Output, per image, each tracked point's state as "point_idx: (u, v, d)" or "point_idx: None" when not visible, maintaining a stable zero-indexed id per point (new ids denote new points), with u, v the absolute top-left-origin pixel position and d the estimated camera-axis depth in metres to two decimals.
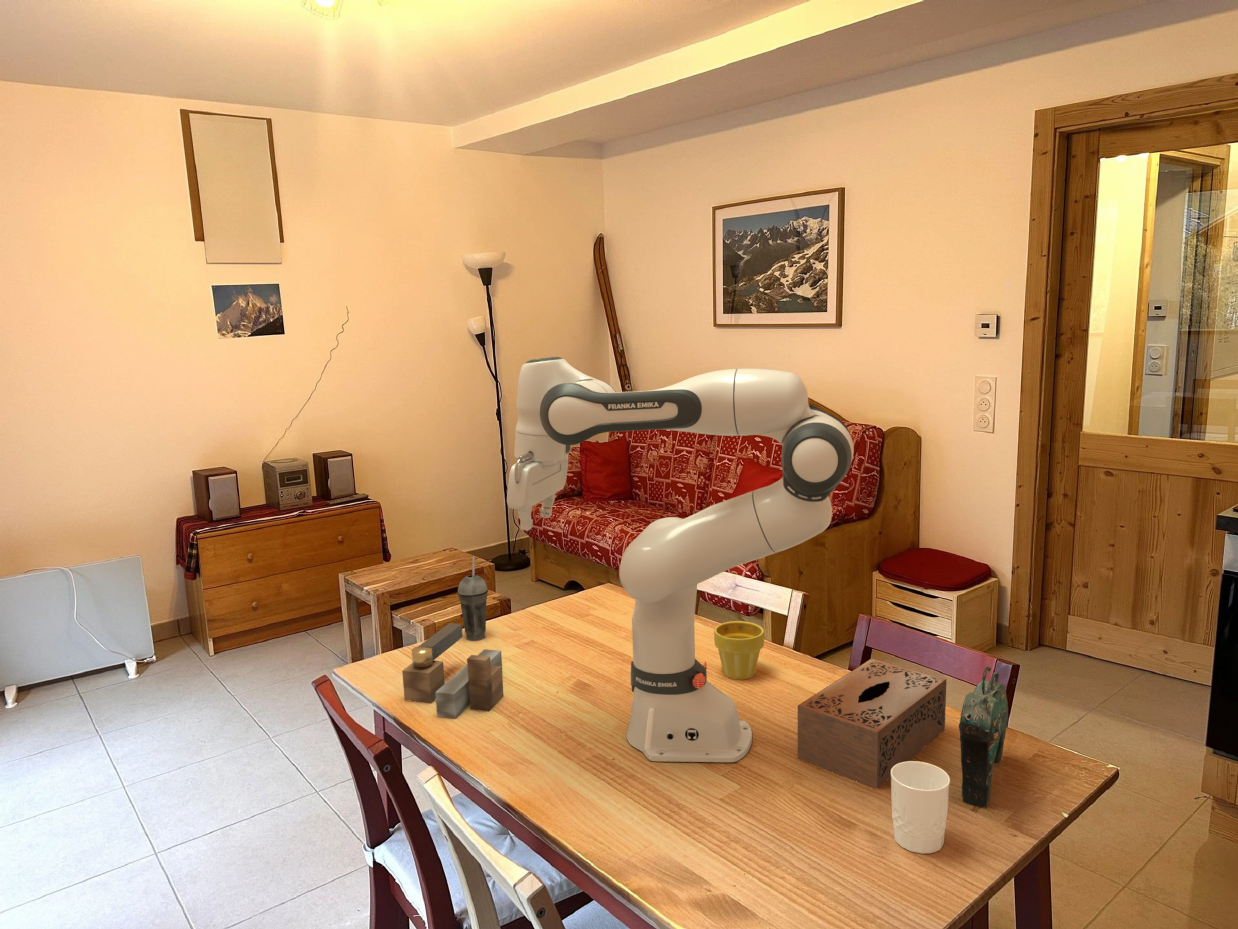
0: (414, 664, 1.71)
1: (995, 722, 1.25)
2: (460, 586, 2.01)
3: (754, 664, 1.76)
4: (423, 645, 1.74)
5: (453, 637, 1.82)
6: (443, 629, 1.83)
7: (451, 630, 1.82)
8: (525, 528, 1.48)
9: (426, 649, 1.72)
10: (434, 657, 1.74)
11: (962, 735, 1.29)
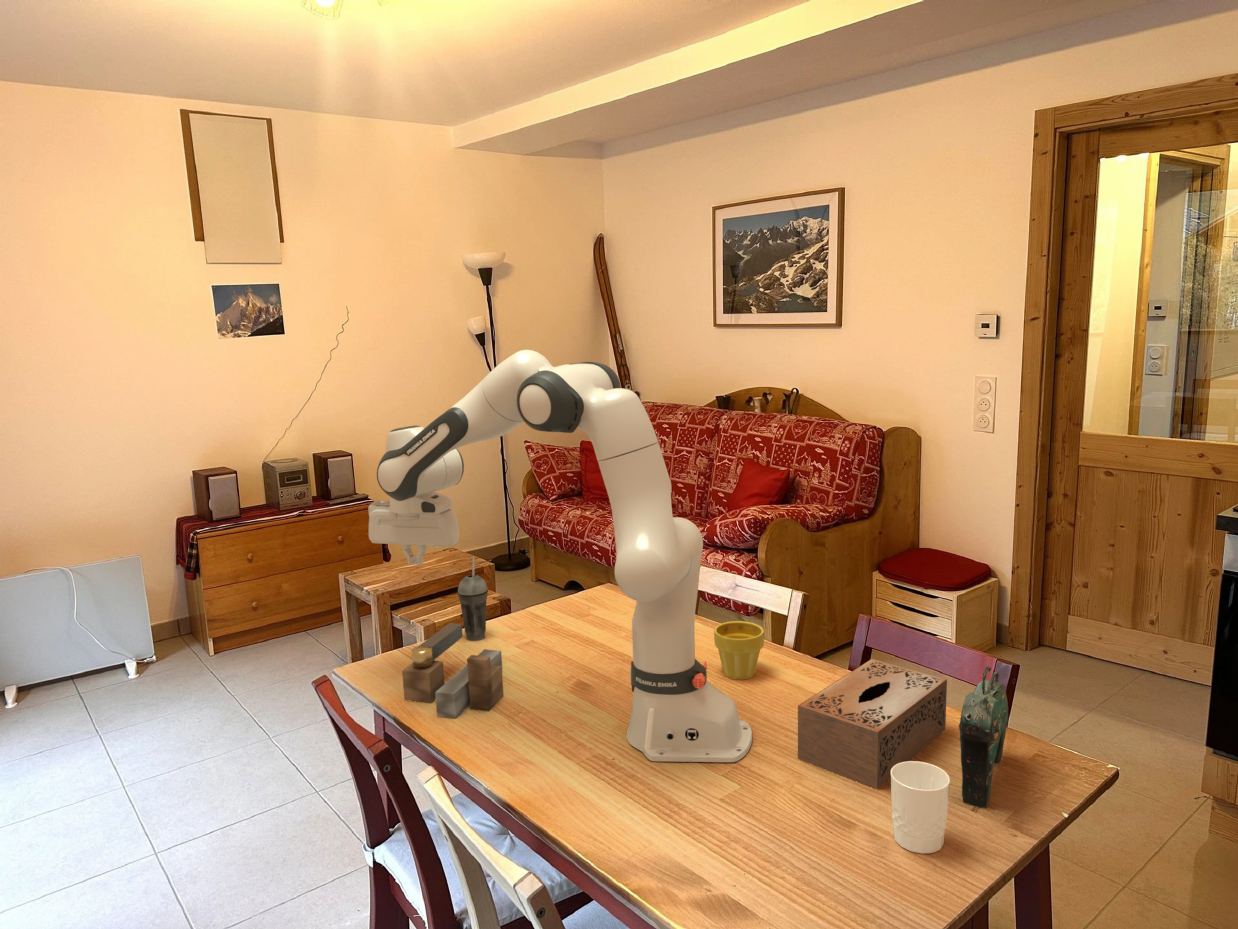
0: (414, 664, 1.71)
1: (995, 722, 1.25)
2: (460, 586, 2.01)
3: (754, 664, 1.76)
4: (423, 645, 1.74)
5: (453, 637, 1.82)
6: (443, 629, 1.83)
7: (451, 630, 1.82)
8: None
9: (426, 649, 1.72)
10: (434, 657, 1.74)
11: (962, 735, 1.29)
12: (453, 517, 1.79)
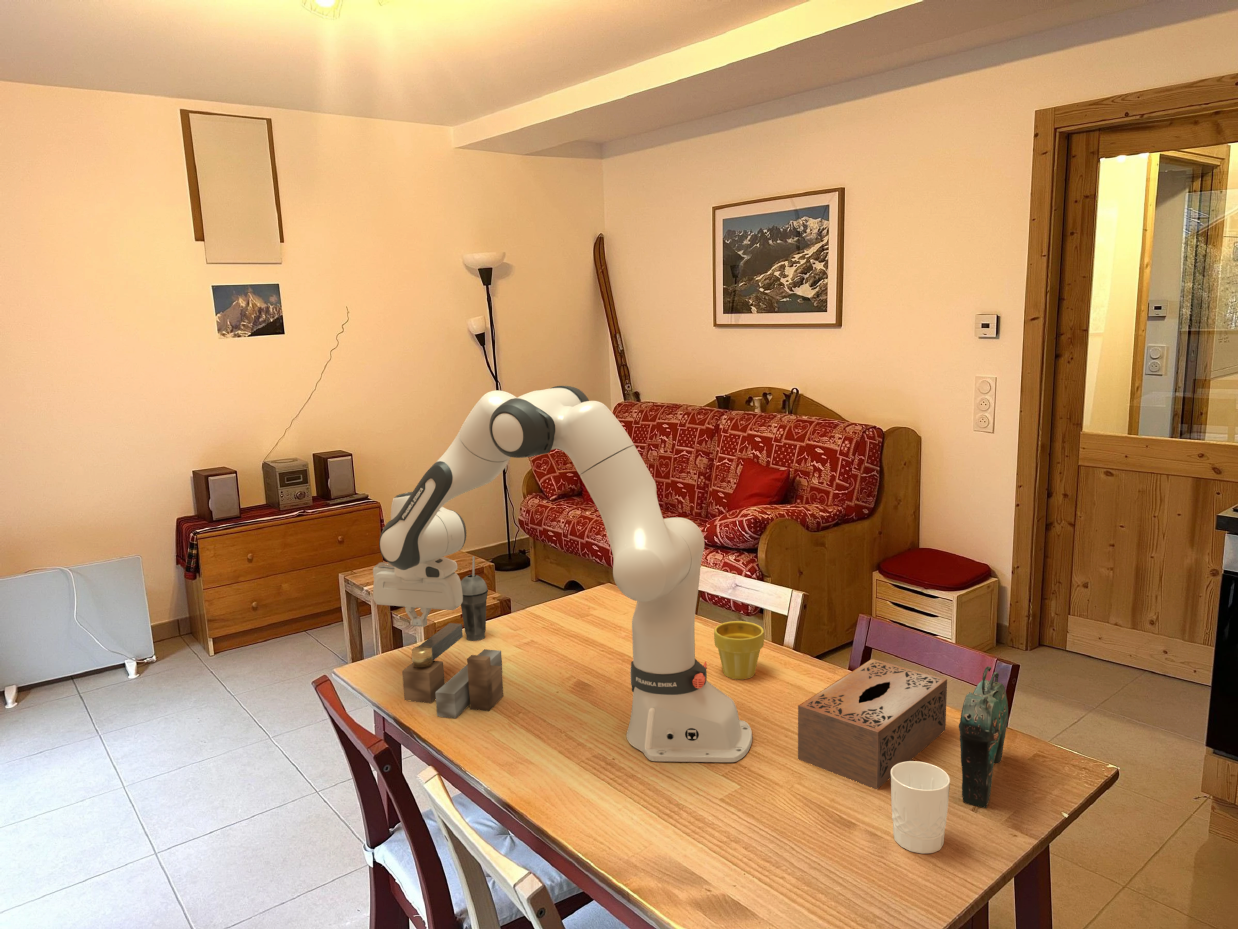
0: (414, 664, 1.71)
1: (995, 722, 1.25)
2: None
3: (754, 664, 1.76)
4: (423, 645, 1.74)
5: (453, 637, 1.82)
6: (443, 629, 1.83)
7: (451, 630, 1.82)
8: None
9: (426, 649, 1.72)
10: (434, 657, 1.74)
11: (962, 735, 1.29)
12: (457, 581, 1.82)
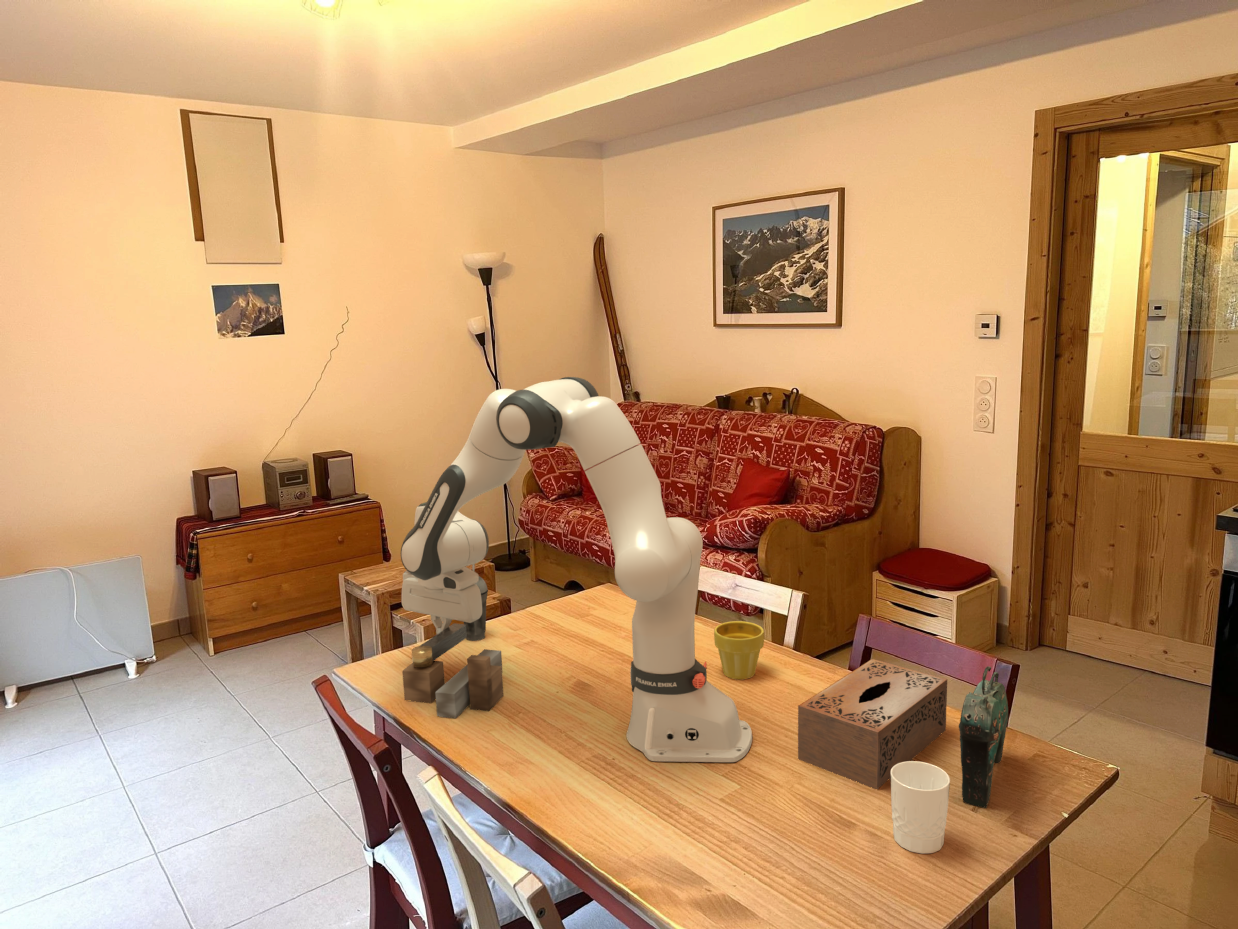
0: (414, 664, 1.71)
1: (995, 722, 1.25)
2: None
3: (754, 664, 1.76)
4: (424, 645, 1.74)
5: (456, 637, 1.82)
6: (446, 629, 1.83)
7: (454, 630, 1.82)
8: None
9: (426, 649, 1.72)
10: (434, 657, 1.74)
11: (962, 735, 1.29)
12: (476, 593, 1.78)
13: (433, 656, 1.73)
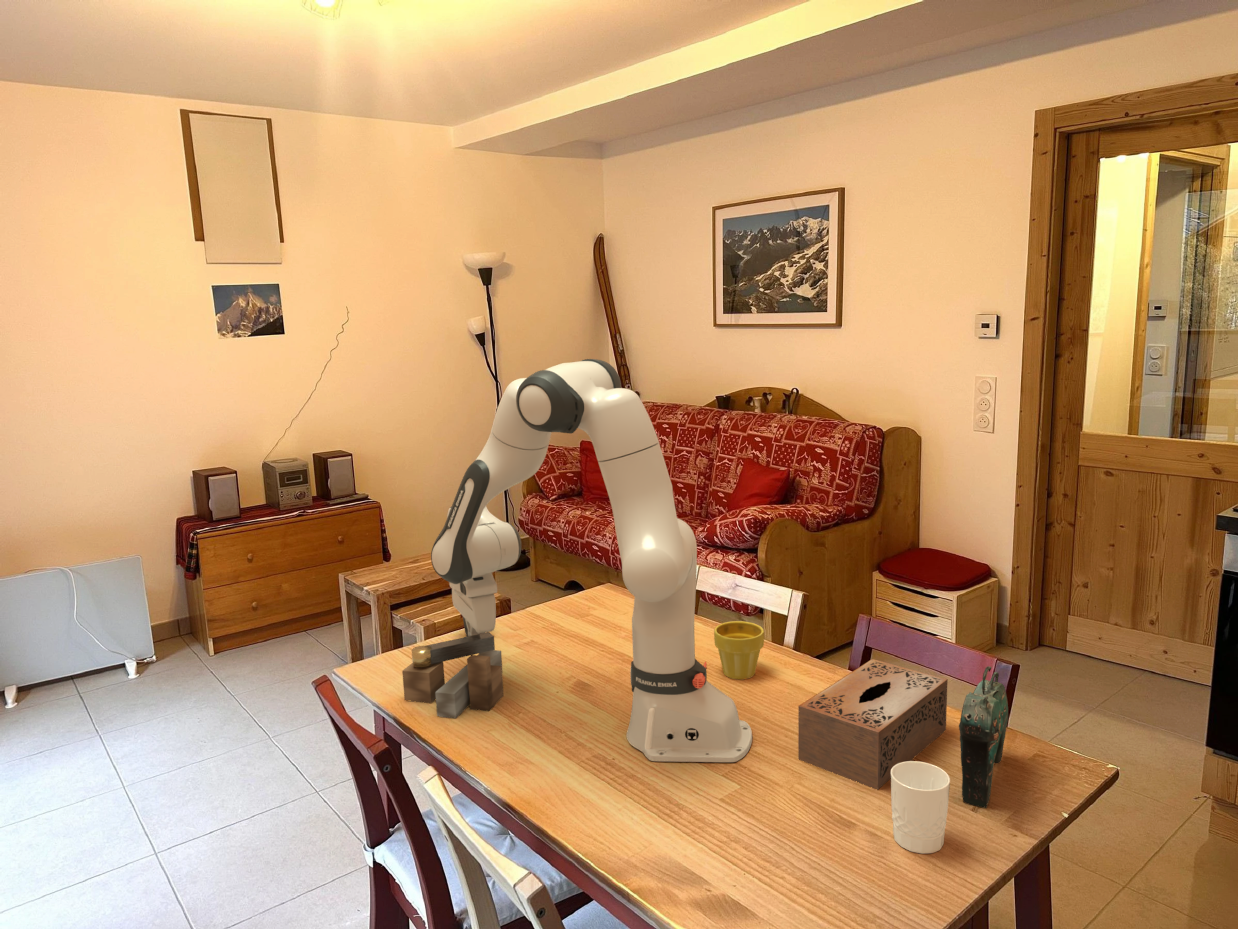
0: (412, 661, 1.72)
1: (995, 722, 1.25)
2: None
3: (754, 664, 1.76)
4: (430, 646, 1.74)
5: (474, 647, 1.76)
6: (472, 636, 1.78)
7: (474, 639, 1.76)
8: None
9: (423, 650, 1.71)
10: (435, 661, 1.72)
11: (962, 735, 1.29)
12: (488, 604, 1.70)
13: (433, 659, 1.72)
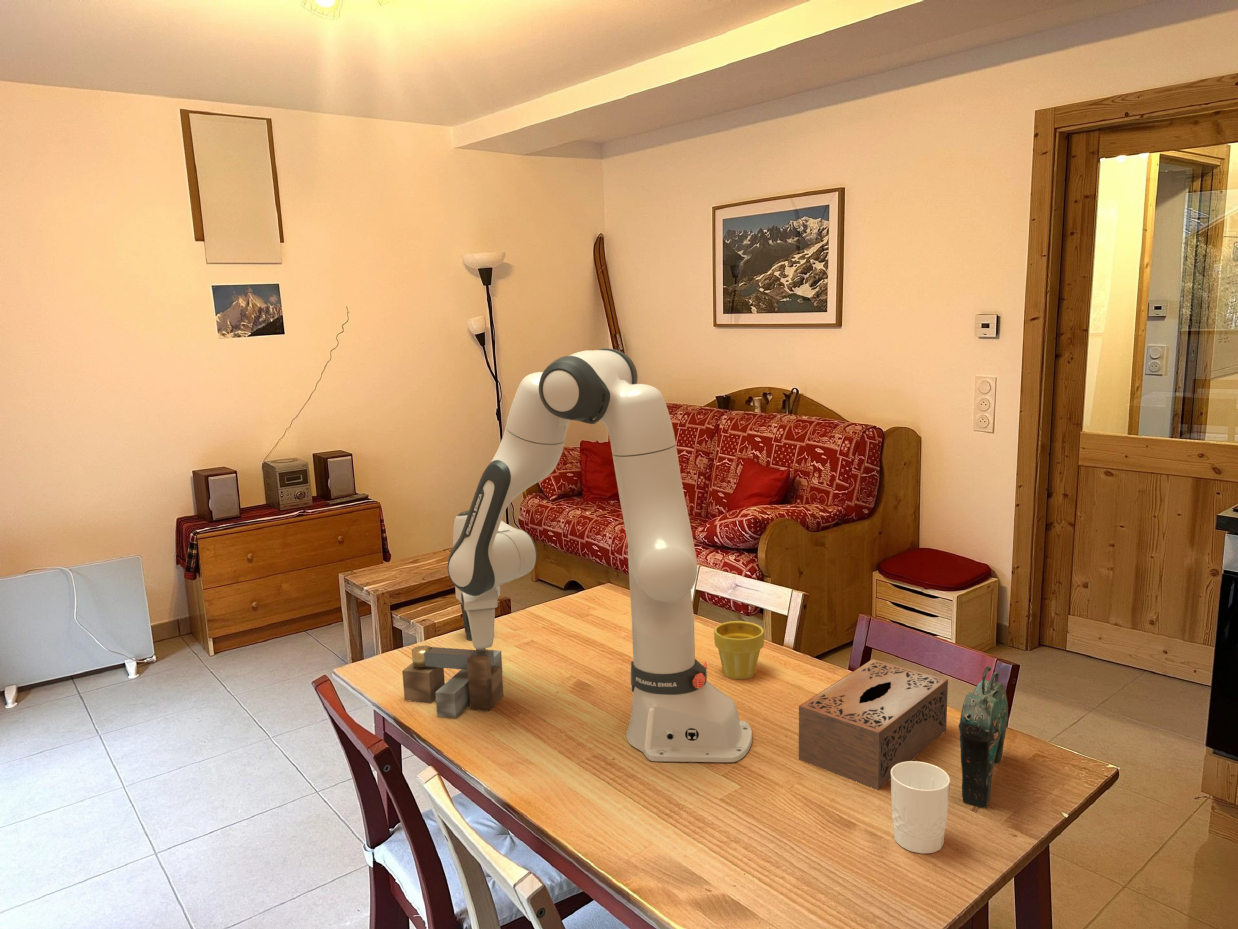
0: None
1: (995, 722, 1.25)
2: None
3: (754, 664, 1.76)
4: (432, 648, 1.72)
5: None
6: (474, 651, 1.70)
7: (469, 654, 1.68)
8: None
9: (419, 651, 1.71)
10: (429, 664, 1.70)
11: (962, 735, 1.29)
12: (485, 619, 1.61)
13: (426, 662, 1.70)
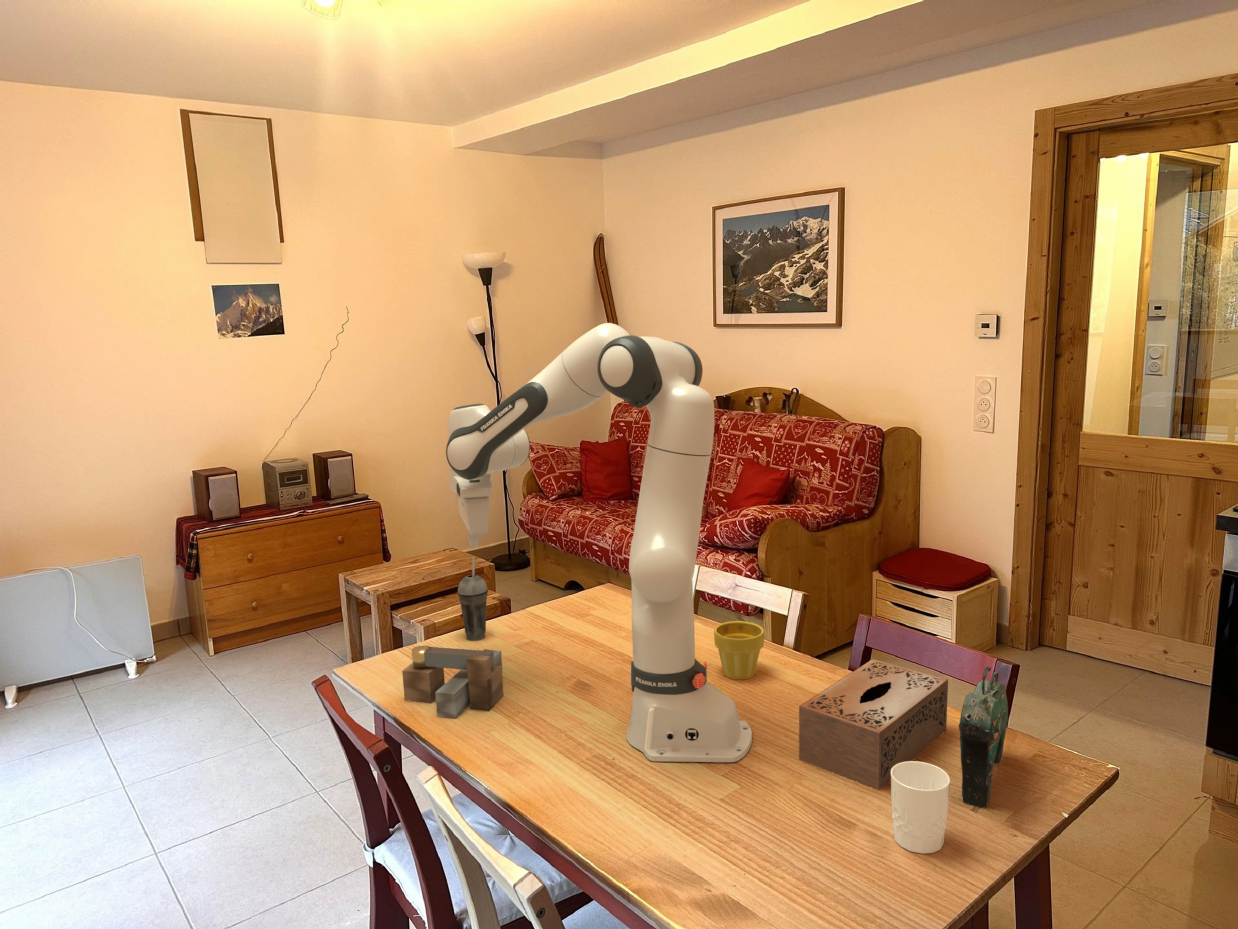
0: None
1: (995, 722, 1.25)
2: (460, 586, 2.01)
3: (754, 664, 1.76)
4: (432, 648, 1.72)
5: None
6: (474, 651, 1.70)
7: (469, 654, 1.68)
8: None
9: (419, 651, 1.71)
10: (429, 664, 1.70)
11: (962, 735, 1.29)
12: (481, 506, 1.68)
13: (426, 662, 1.70)
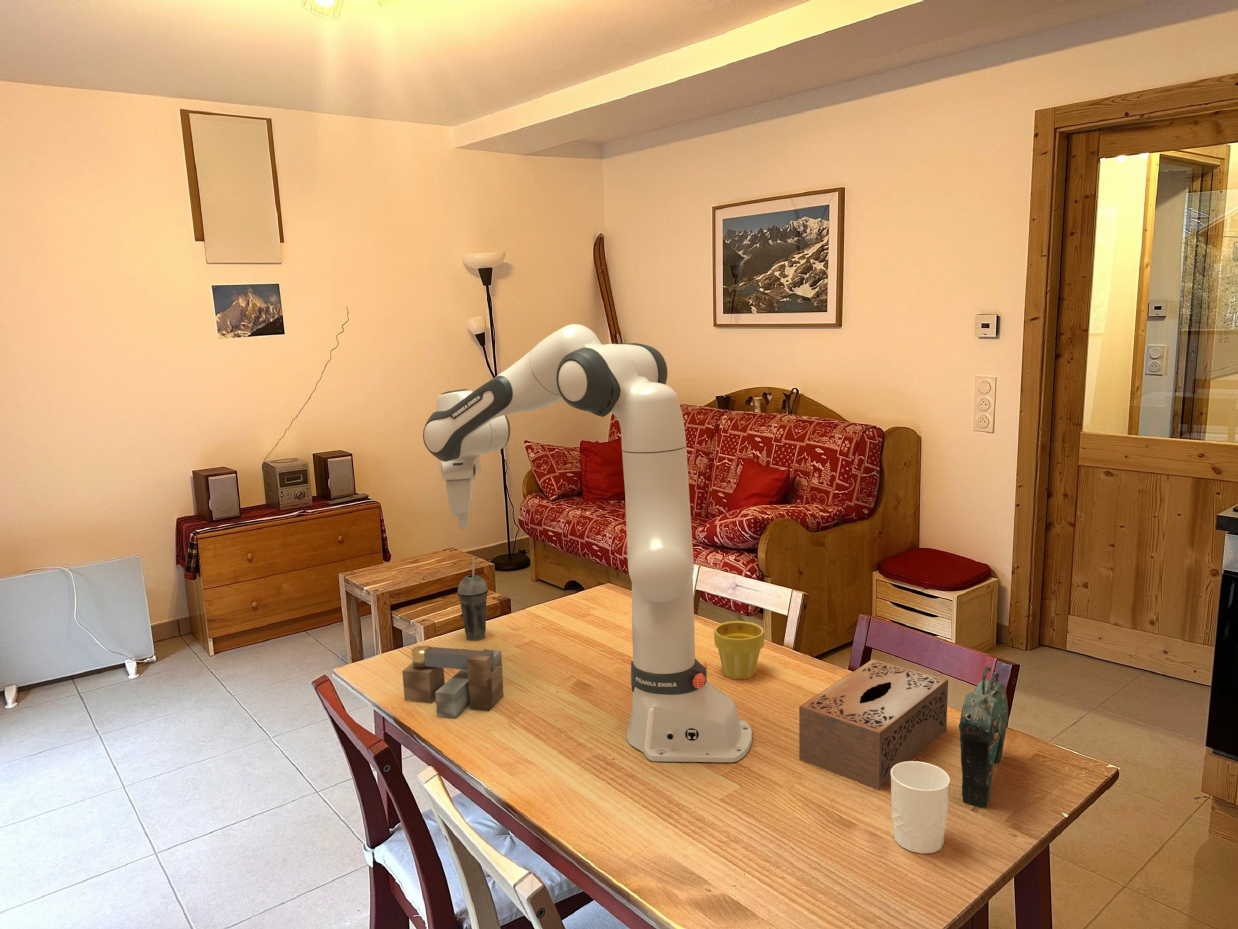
0: None
1: (995, 722, 1.25)
2: (460, 586, 2.01)
3: (754, 664, 1.76)
4: (432, 648, 1.72)
5: None
6: (474, 651, 1.70)
7: (469, 654, 1.68)
8: None
9: (419, 651, 1.71)
10: (429, 664, 1.70)
11: (962, 735, 1.29)
12: (461, 488, 1.74)
13: (426, 662, 1.70)
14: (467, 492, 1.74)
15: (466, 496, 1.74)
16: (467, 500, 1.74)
